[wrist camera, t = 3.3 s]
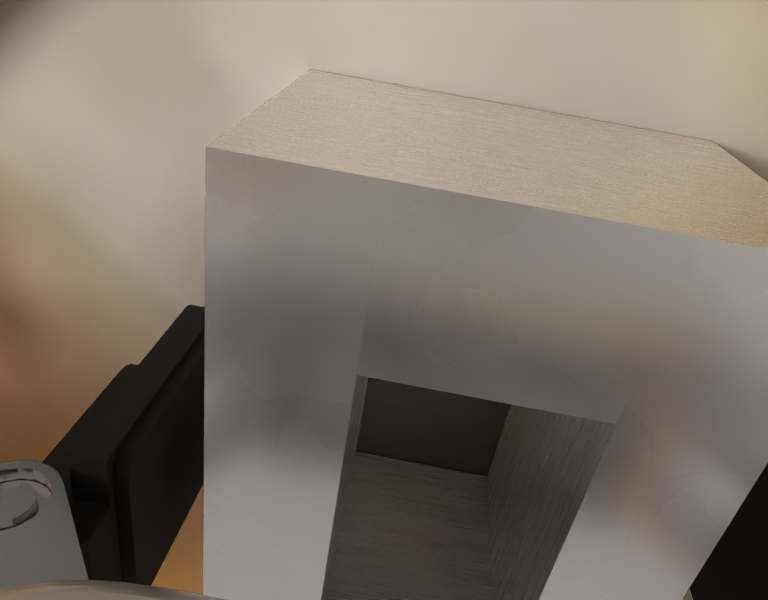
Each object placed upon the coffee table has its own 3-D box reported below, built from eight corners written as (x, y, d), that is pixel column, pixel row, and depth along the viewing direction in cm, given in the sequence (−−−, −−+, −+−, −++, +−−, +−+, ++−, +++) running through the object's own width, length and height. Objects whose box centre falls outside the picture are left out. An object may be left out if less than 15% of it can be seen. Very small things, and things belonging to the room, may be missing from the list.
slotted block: (537, 559, 16) (565, 785, 12) (272, 507, 16) (202, 711, 12) (712, 141, 11) (888, 271, 6) (309, 69, 11) (205, 147, 6)
